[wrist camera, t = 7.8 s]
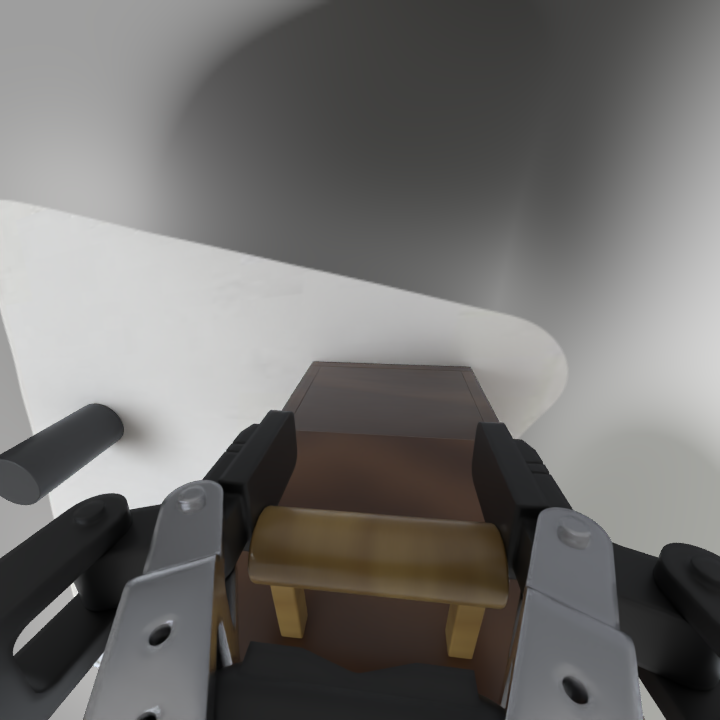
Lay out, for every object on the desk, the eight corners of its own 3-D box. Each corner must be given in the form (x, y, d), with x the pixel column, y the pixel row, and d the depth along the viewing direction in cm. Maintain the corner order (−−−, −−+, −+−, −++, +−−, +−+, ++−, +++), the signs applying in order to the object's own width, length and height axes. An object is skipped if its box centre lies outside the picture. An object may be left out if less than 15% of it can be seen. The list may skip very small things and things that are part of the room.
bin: (457, 468, 33) (484, 576, 23) (319, 460, 34) (285, 557, 24) (470, 366, 29) (510, 442, 19) (312, 361, 30) (269, 429, 20)
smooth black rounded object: (74, 402, 35) (-27, 457, 26) (116, 404, 34) (26, 461, 26) (88, 440, 37) (-2, 503, 28) (128, 443, 36) (48, 507, 28)
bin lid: (667, 803, 8) (805, 694, 5) (115, 719, 9) (20, 601, 7) (511, 452, 18) (533, 362, 16) (267, 438, 20) (253, 353, 17)
